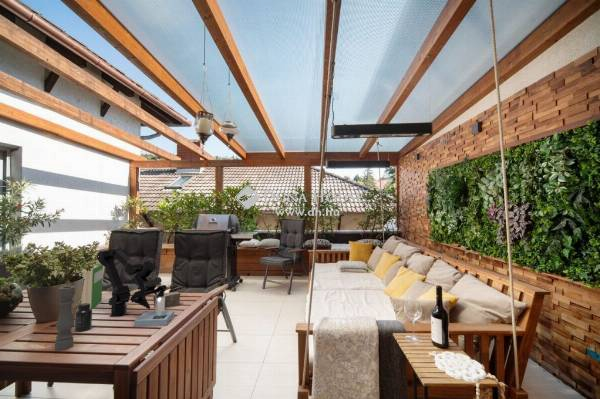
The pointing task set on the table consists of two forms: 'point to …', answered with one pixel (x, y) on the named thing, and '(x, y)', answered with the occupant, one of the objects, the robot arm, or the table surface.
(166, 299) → the stone block
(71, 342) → the candle holder
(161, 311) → the polished metal rod
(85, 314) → the supplement bottle
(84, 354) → the table surface
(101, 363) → the table surface
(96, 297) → the hardback book
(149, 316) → the jig plate
